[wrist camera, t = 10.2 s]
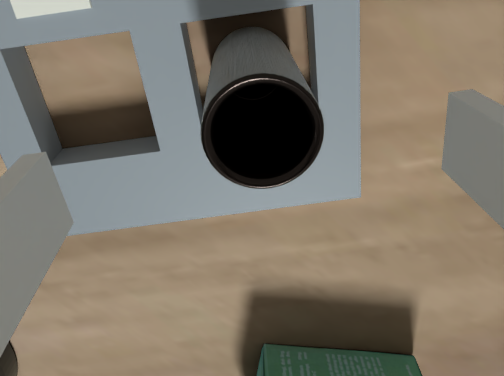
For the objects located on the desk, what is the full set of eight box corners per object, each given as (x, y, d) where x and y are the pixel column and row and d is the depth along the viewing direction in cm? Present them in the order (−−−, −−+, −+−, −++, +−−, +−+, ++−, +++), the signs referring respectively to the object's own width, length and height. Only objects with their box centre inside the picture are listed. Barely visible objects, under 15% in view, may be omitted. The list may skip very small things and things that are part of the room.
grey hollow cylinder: (298, 95, 25) (333, 174, 16) (224, 114, 26) (220, 202, 17) (282, 16, 23) (313, 58, 14) (201, 37, 24) (182, 92, 15)
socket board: (54, 217, 29) (38, 241, 26) (-61, -54, 21) (-98, -54, 19) (350, 178, 28) (361, 198, 26) (345, -116, 21) (359, -124, 18)
